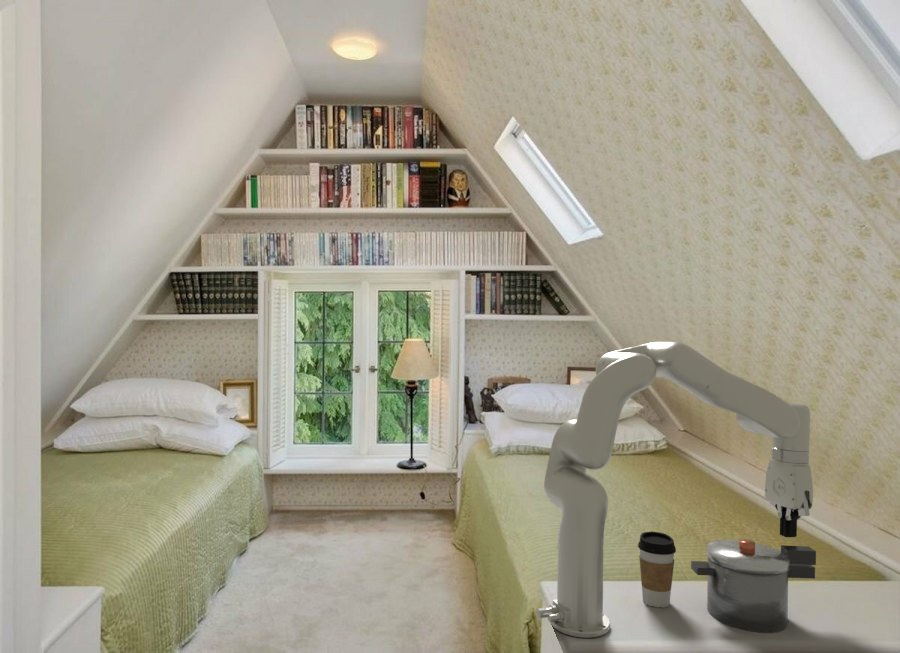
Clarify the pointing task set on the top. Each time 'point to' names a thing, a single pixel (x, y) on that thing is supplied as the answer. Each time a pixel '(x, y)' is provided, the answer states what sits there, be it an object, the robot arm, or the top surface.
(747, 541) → the cooker lid
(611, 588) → the top surface
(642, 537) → the coffee cup
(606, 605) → the top surface
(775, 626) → the cooker pot
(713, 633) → the top surface
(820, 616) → the top surface
